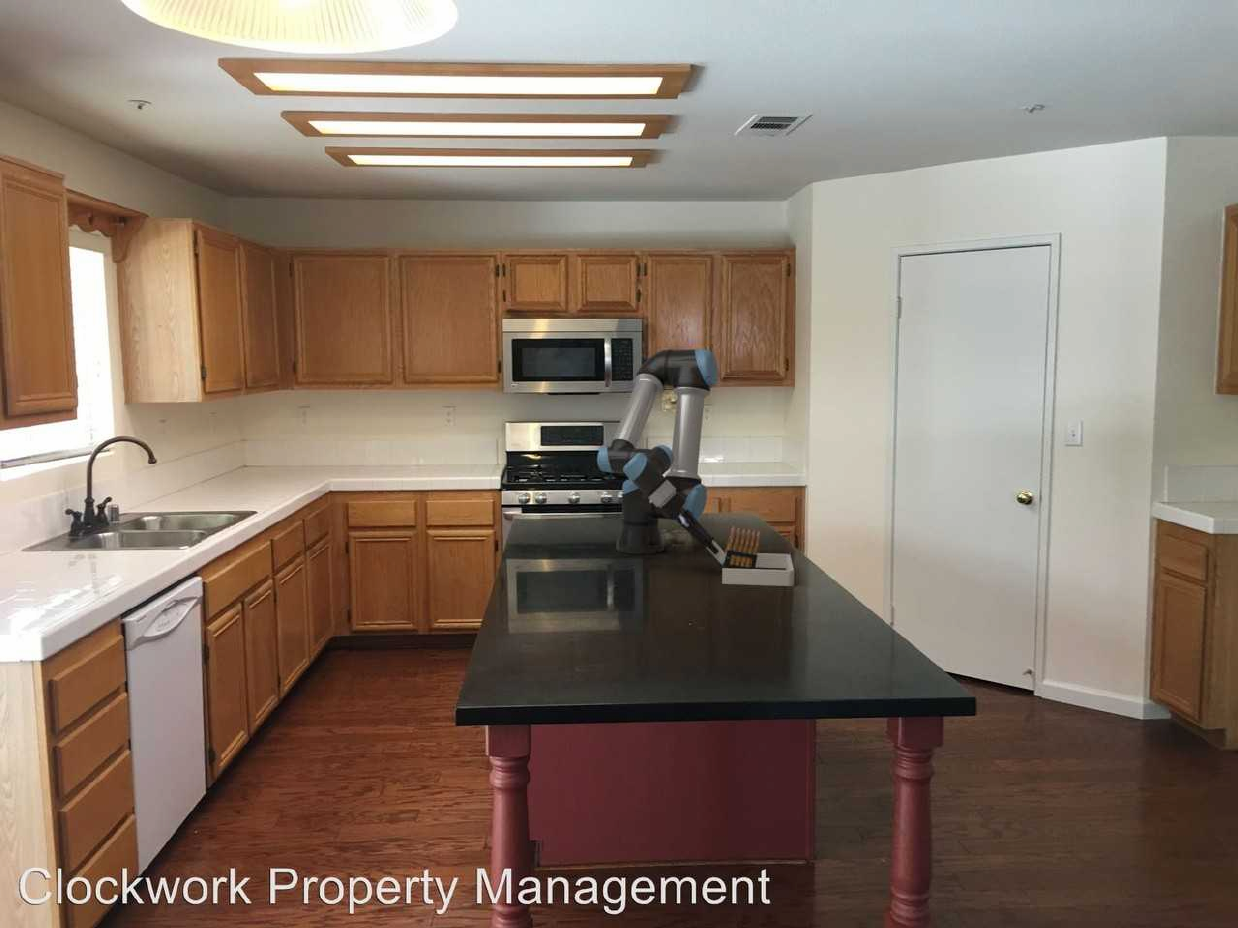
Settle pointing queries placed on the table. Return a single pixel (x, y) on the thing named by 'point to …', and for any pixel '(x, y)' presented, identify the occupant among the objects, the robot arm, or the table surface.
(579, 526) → the table surface
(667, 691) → the table surface
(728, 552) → the ammunition clip
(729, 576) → the box
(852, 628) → the table surface
